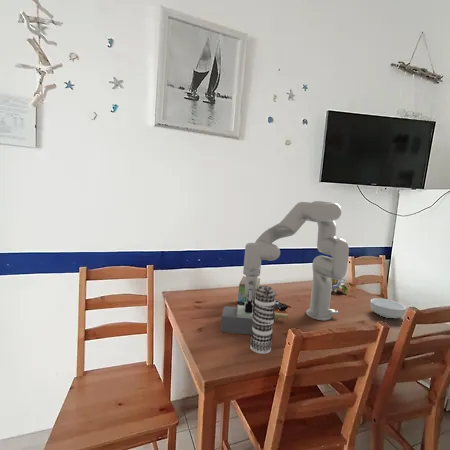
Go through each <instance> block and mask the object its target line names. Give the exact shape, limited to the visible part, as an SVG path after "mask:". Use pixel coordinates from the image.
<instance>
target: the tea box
mask: <svg viewBox="0 0 450 450" xmlns="http://www.w3.org/2000/svg"><path fill="white" fill-rule="evenodd" d="M245 279H246V275H244V276H242V278H241V280H240V282H239V284H238V285H239V286H238V295H237V305H236V307H238V305H242V306H245V302H246V297H245ZM260 286H261V278H258V281H257V289H258V288H259V287H260ZM254 299H255V298H253V300H254Z"/></svg>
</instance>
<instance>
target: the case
mask: <svg viewBox="0 0 450 450" xmlns="http://www.w3.org/2000/svg"><path fill="white" fill-rule="evenodd" d="M237 310H238V307H237V306H227V305H226V306H223V310H222V314H221V321H220V332H222V333H232V334H239V335H240V334H241V335H250V336H251V331H252V326H253V319H250V318H240V317H237Z"/></svg>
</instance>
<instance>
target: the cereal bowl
mask: <svg viewBox="0 0 450 450" xmlns="http://www.w3.org/2000/svg"><path fill="white" fill-rule="evenodd" d="M369 307H370V309H371V310H372V311H373V312H374V313H375V314H377V315H378V314H379V315H380V317H381V316H383V317H386V318H385V319H387V318H394V319H399V318H402V317H403V316H404V315H405V313H406V310H407V307H406V305H404V304H402V303H400V302H398V301H395V300H391V299H388V298H382V297H381V298H378V297H377V298H375V297H374V298H371V299H370V306H369ZM379 315H378V316H379ZM383 317H382V318H383Z"/></svg>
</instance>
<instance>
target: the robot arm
mask: <svg viewBox="0 0 450 450" xmlns="http://www.w3.org/2000/svg"><path fill="white" fill-rule="evenodd" d="M341 215H342V207H341V206H340V204H338V203H336V202H329V201H322V200H314V201H312V202H308V201H299V202H298V203H296V204H295V205H294V206H293V207H292V208H291V209H290V211H288V213H287V214H286V215H285V216H284V218H283V219H282V220H281V221H280V222H279V223H277V224H275V225H273V226H271V227H269V228H268V229H266V230H265V231H264V232H263V233H261V235H260V236H259V237H258V238H257V239H256V240H255V241H254V242H248V243H246V244H245V247H244V248H245V249H244V259H243V272H242V274H243V275H244V276H245V277H246V279H245V297H246V305H245V312H247V313H252V309H253V304H252V303H253V298H255V297H256V292H255V290H256V289H257V281H258V277H259V276H261V271H262V270H261V269H262V261H269V262H271V261H276V260H277V259H279V258H280V256H281V250H280V248H279V246H277V244H274V243H275V241H278V240H280V239H283V238H287V237H288V238H289V237H291V236H294V235H296V233H297V232H298V231H299V230H300V228H301V227H302V226H303V225H304V224H305V223H306V221H307V222H312V223H317V227H318V229H317V241H316V242H317V243H316V248H317V250H318V252H320V253H321V254H324V255H318V256H316V257H314V259H313V260H312V284H311V294H310V302H309V308H308V309H307V310H306V311H305V312H306V316H307V317H308V318H311V319H314V320H317V321H329V320H331V319H332V315H336V316H339V311H338V310H335V309H331V308H330V303H331V295H332V292H331V288H332V280H331V278H332V279H335V280H341V279H344V278H345V276H346V275H347V272H348V264H349V263H348V262H349V252H350V247H349V243H348V241H346V240H345V239H343V238H340V237H337V224H336V221H337V220H339V219H340V217H341ZM326 255H327V256H326ZM329 256H331V257H329ZM247 302H248V303H247Z"/></svg>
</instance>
